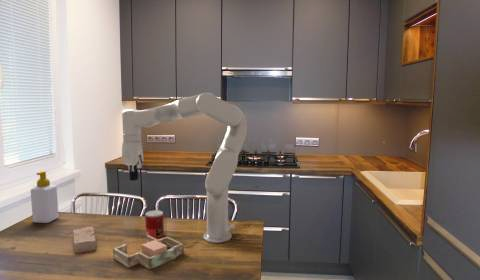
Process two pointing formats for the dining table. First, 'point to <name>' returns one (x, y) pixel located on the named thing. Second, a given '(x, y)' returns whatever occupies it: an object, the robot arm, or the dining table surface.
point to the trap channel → (150, 262)
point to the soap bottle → (44, 200)
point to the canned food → (154, 224)
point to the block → (153, 248)
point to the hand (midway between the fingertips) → (134, 179)
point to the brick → (84, 239)
